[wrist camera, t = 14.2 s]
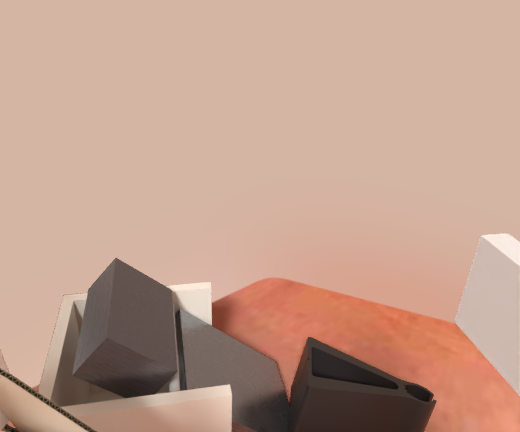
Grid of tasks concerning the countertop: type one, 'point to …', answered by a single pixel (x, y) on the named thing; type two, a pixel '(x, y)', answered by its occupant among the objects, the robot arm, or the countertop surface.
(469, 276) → the robot arm
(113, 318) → the trapdoor
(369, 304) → the countertop surface
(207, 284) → the frame
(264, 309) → the countertop surface
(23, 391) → the gable box
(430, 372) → the countertop surface
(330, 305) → the countertop surface
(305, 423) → the phone stand
